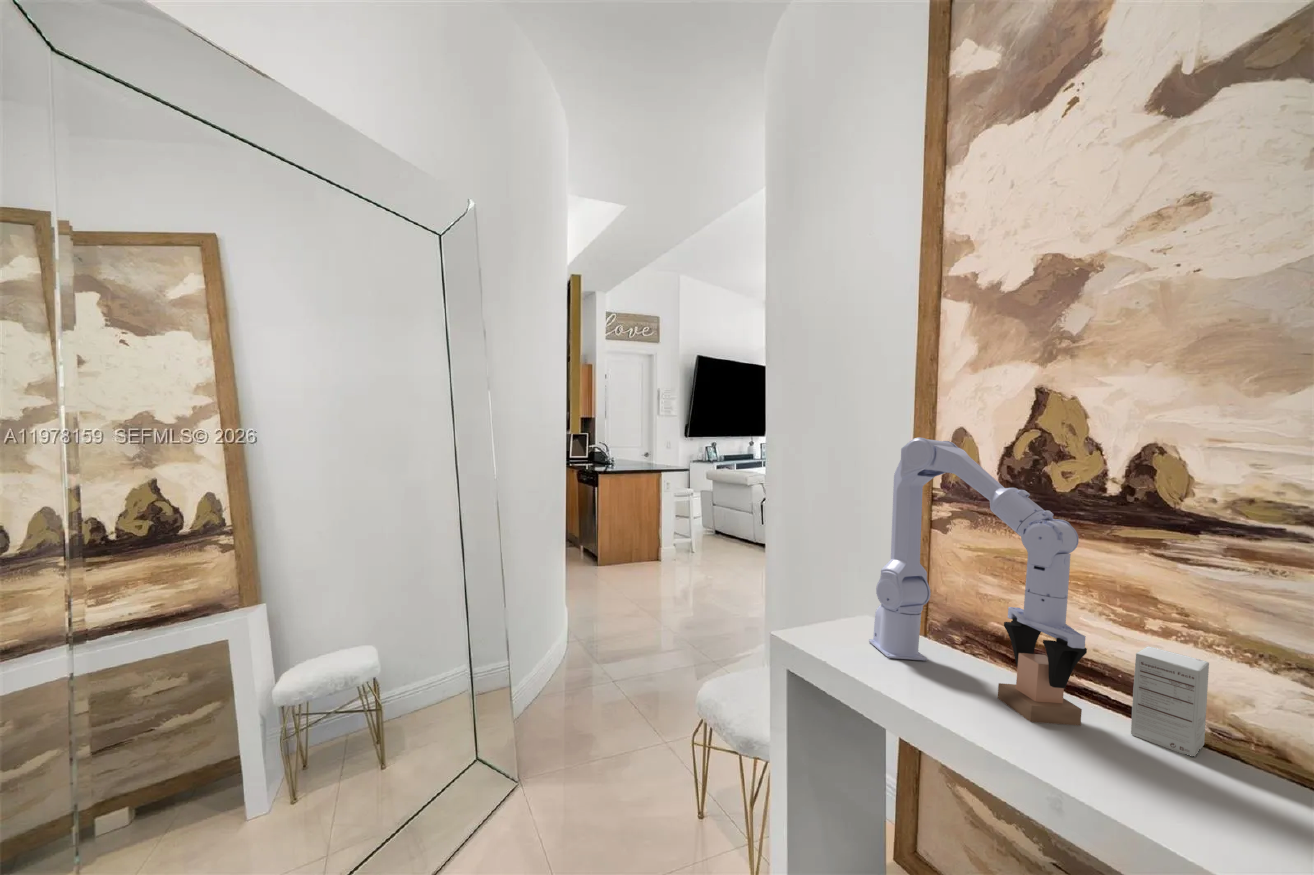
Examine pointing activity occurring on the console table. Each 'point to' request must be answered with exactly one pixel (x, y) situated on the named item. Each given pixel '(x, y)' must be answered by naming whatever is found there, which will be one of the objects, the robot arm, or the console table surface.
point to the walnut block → (1039, 707)
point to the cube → (1036, 679)
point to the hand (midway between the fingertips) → (1039, 676)
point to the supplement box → (1170, 700)
